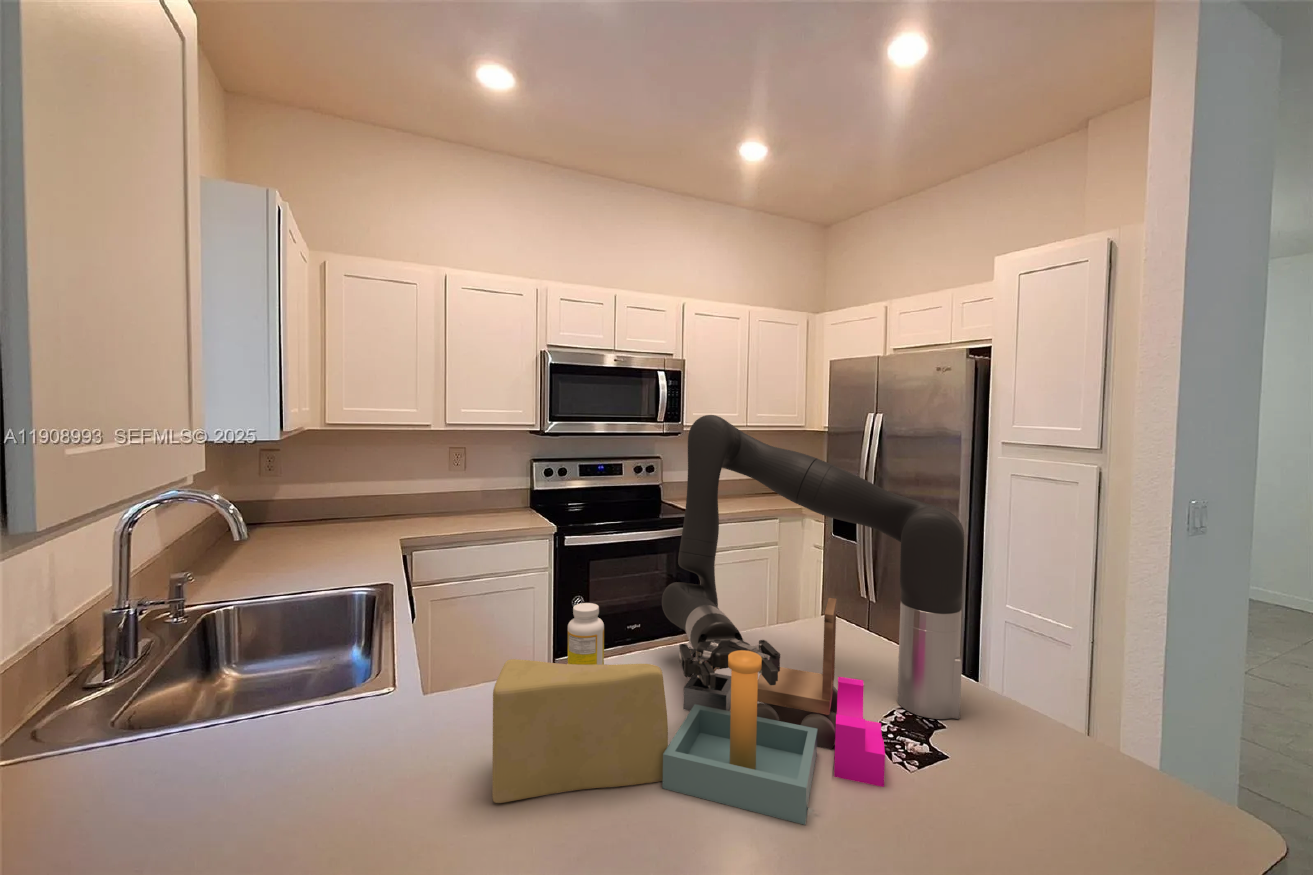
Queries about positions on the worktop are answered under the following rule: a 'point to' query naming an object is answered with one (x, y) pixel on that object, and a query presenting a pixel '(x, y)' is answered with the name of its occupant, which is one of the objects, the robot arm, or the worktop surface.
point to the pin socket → (708, 693)
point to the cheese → (576, 727)
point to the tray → (769, 789)
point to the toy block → (857, 738)
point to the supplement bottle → (586, 636)
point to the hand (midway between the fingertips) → (743, 680)
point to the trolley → (807, 688)
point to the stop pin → (743, 707)
